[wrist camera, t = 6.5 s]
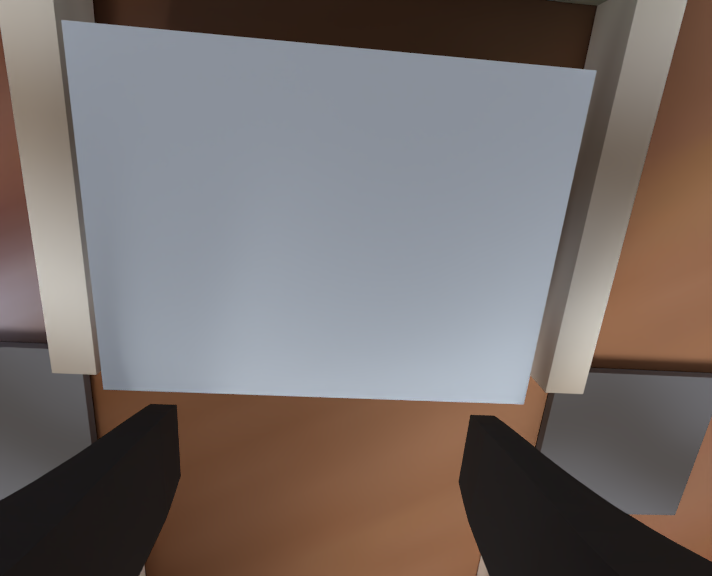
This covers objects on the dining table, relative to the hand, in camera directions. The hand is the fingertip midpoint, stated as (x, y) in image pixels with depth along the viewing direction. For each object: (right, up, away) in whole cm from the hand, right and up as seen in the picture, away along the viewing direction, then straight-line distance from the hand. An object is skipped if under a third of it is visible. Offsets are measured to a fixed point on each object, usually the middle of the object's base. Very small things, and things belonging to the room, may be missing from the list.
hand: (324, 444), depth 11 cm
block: (0, +6, 0) cm, 6 cm away
